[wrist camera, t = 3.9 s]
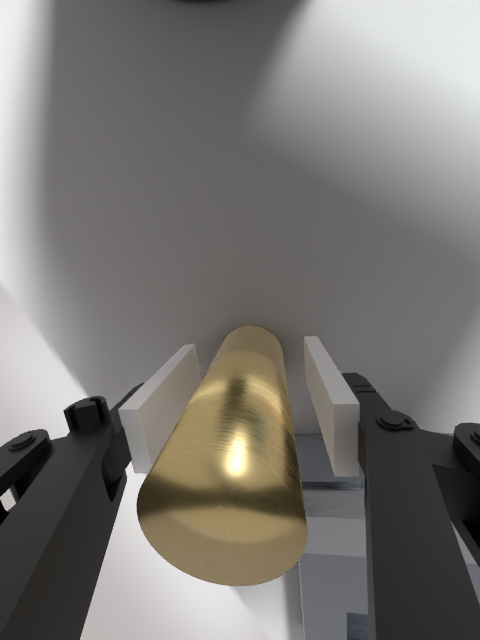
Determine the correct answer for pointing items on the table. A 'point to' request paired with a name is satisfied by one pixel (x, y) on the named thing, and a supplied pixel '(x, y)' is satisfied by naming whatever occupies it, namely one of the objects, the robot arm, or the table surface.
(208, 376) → the brass cylinder rod
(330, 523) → the jig
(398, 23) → the table surface
